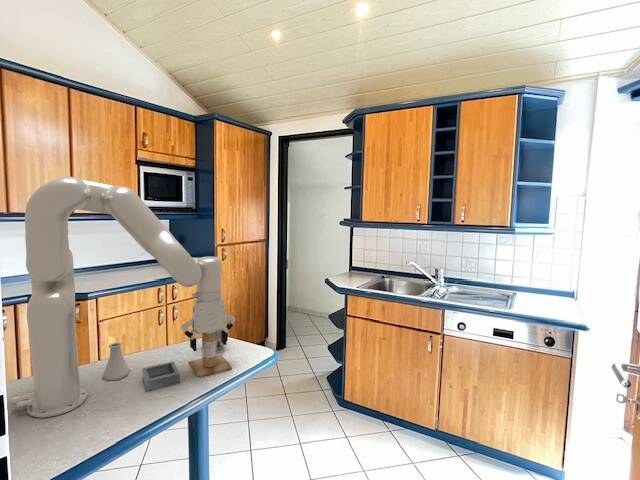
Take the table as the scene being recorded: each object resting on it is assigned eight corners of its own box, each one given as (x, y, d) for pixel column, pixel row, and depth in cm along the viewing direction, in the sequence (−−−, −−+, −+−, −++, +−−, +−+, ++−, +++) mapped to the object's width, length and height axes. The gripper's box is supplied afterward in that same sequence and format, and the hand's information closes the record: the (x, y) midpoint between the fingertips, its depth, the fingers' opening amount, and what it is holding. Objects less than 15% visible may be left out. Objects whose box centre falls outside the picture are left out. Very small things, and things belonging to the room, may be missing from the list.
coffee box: (201, 345, 131) (200, 303, 129) (218, 342, 134) (218, 301, 132) (206, 355, 123) (206, 311, 121) (225, 352, 127) (225, 308, 125)
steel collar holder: (146, 391, 100) (146, 381, 100) (142, 377, 108) (142, 368, 107) (180, 383, 105) (179, 373, 105) (173, 370, 113) (173, 361, 112)
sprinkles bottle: (205, 360, 118) (205, 322, 116) (218, 361, 117) (218, 322, 116) (199, 367, 113) (199, 327, 111) (213, 368, 113) (213, 328, 111)
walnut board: (197, 378, 108) (197, 376, 108) (188, 363, 117) (188, 361, 117) (232, 369, 114) (232, 367, 114) (221, 356, 123) (221, 354, 123)
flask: (134, 370, 112) (133, 340, 110) (119, 382, 105) (118, 350, 103) (113, 368, 112) (112, 338, 111) (97, 380, 105) (95, 348, 104)
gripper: (183, 302, 105) (184, 357, 107) (239, 294, 114) (239, 345, 116) (177, 295, 111) (178, 347, 113) (231, 289, 120) (231, 337, 122)
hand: (209, 346), depth 115 cm, fingers open, 9 cm apart
